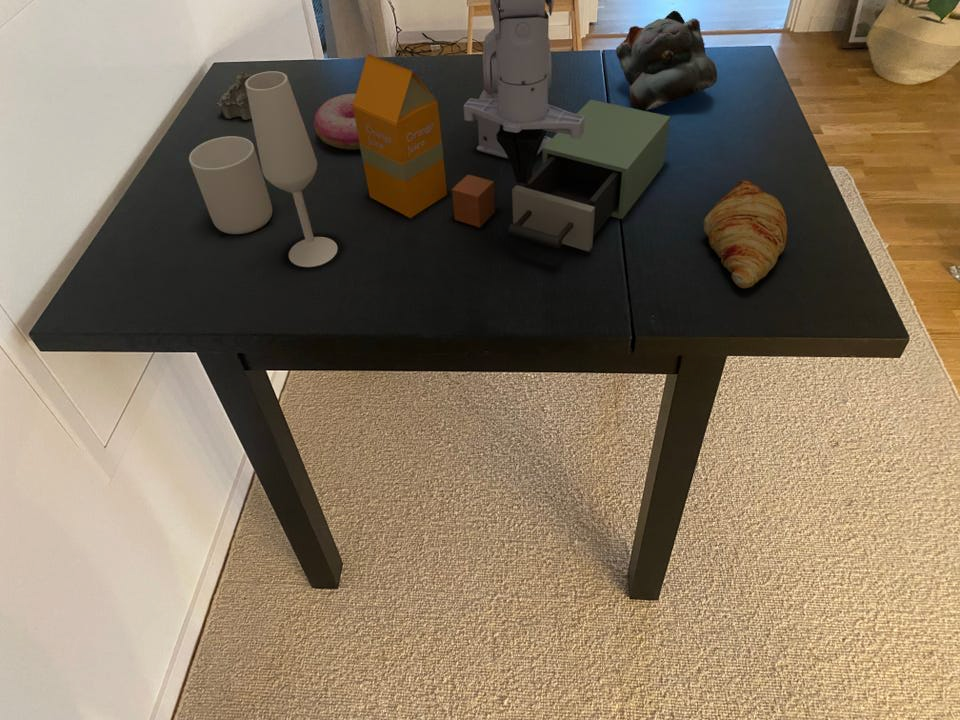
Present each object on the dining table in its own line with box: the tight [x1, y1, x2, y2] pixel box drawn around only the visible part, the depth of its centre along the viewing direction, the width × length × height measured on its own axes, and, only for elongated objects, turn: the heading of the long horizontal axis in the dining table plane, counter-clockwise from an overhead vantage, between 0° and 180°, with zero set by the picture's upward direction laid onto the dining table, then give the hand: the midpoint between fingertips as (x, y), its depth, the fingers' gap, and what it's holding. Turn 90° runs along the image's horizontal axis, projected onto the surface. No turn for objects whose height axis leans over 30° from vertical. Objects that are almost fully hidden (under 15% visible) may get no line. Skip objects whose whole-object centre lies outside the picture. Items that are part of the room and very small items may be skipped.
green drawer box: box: [542, 99, 671, 220], centre depth 105 cm, size 15×12×8 cm
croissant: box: [702, 179, 788, 289], centre depth 93 cm, size 21×10×8 cm, turn 167°
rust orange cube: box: [451, 173, 496, 228], centre depth 101 cm, size 4×4×5 cm
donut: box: [313, 92, 360, 151], centre depth 119 cm, size 14×13×5 cm
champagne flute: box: [245, 70, 339, 268], centre depth 91 cm, size 7×7×24 cm
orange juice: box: [352, 53, 448, 219], centre depth 100 cm, size 8×9×20 cm
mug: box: [188, 135, 273, 235], centre depth 103 cm, size 9×12×11 cm
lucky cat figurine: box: [615, 10, 718, 112], centre depth 121 cm, size 15×12×14 cm
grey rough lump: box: [215, 70, 253, 121], centre depth 129 cm, size 11×8×4 cm
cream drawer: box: [507, 155, 622, 252], centre depth 97 cm, size 19×11×6 cm, turn 149°
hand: (524, 179), depth 92 cm, fingers closed
